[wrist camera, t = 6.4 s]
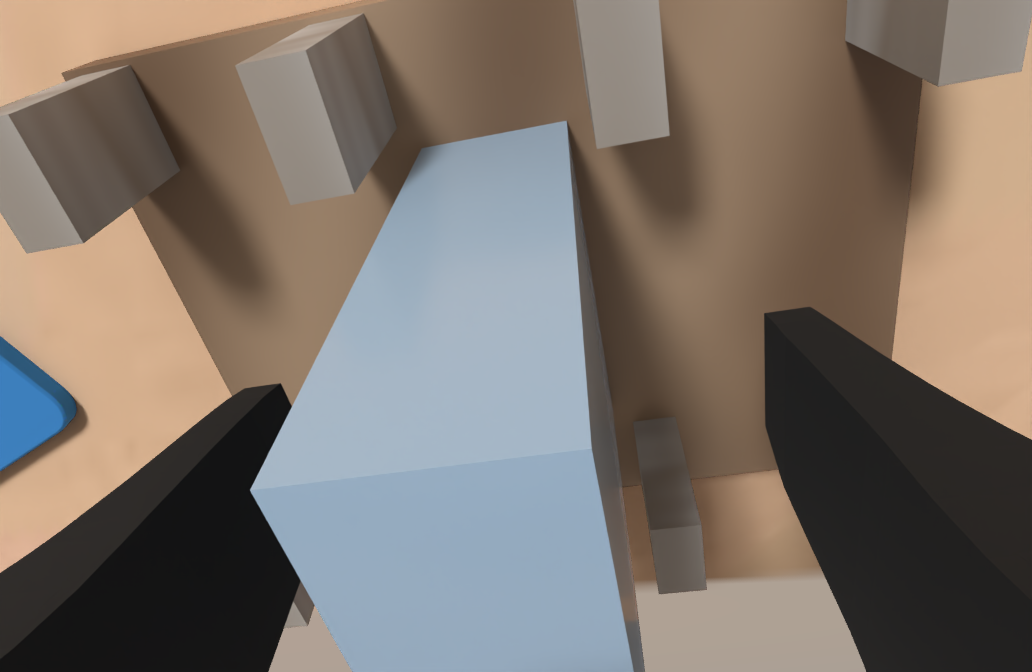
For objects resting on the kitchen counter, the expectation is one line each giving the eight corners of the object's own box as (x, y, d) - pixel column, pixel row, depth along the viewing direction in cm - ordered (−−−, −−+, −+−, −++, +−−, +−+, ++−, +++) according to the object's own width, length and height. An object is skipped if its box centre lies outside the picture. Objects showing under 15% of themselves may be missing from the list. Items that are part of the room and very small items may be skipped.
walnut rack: (911, -124, 10) (1089, -131, 7) (863, 427, 16) (947, 571, 13) (95, 60, 12) (-80, 124, 9) (311, 494, 18) (255, 634, 14)
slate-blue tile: (566, 120, 11) (591, 448, 5) (612, 402, 15) (665, 841, 8) (421, 148, 12) (250, 491, 5) (496, 417, 15) (452, 849, 8)
